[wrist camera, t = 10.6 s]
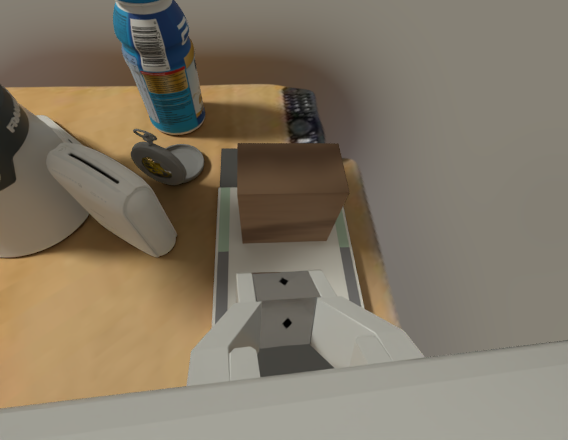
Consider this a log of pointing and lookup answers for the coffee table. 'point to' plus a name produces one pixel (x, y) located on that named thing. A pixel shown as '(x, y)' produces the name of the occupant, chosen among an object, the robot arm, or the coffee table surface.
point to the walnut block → (289, 191)
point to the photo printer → (113, 197)
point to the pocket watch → (167, 160)
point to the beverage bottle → (161, 62)
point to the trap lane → (277, 269)
